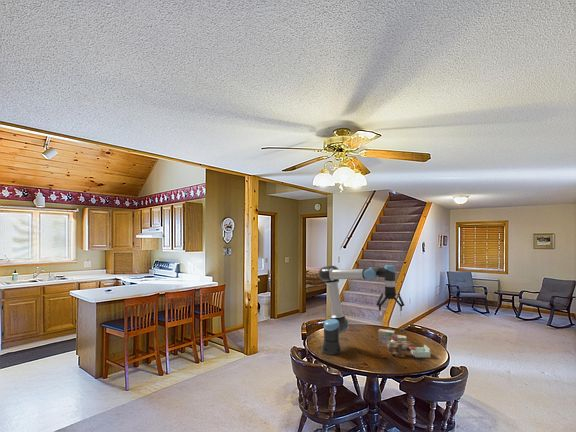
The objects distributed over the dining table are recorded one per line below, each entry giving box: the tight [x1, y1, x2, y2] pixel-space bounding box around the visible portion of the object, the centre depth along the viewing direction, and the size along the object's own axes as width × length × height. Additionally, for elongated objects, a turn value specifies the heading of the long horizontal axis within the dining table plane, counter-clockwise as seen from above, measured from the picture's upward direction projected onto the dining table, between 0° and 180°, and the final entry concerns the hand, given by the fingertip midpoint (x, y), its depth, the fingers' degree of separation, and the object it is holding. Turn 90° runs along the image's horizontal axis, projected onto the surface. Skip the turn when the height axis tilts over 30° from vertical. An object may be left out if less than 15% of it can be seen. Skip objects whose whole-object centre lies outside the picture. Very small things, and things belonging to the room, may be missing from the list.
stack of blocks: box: [377, 328, 408, 351], centre depth 269 cm, size 21×6×12 cm, turn 63°
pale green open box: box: [410, 344, 431, 359], centre depth 250 cm, size 11×10×6 cm
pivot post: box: [392, 345, 405, 358], centre depth 251 cm, size 6×8×8 cm
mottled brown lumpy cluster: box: [386, 340, 416, 353], centre depth 248 cm, size 18×11×7 cm, turn 89°
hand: (390, 315), depth 246 cm, fingers open, 13 cm apart
